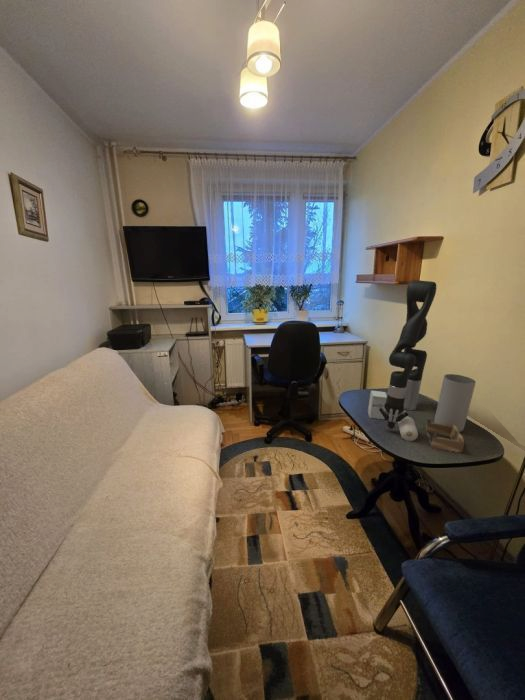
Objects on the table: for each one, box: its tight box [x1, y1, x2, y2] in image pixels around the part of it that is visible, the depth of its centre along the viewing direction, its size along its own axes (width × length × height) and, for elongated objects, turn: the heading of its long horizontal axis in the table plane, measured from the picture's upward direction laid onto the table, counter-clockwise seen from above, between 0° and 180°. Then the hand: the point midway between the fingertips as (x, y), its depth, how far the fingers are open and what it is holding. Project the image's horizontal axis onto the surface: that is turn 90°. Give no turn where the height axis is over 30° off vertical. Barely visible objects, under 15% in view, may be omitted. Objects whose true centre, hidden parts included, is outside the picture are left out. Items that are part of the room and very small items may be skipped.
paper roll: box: [397, 416, 419, 442], centre depth 132 cm, size 10×7×7 cm
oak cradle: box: [424, 418, 465, 453], centre depth 127 cm, size 14×11×7 cm
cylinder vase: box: [433, 373, 477, 433], centre depth 138 cm, size 12×12×25 cm
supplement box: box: [367, 390, 387, 420], centre depth 147 cm, size 7×7×13 cm
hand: (390, 427), depth 134 cm, fingers closed
